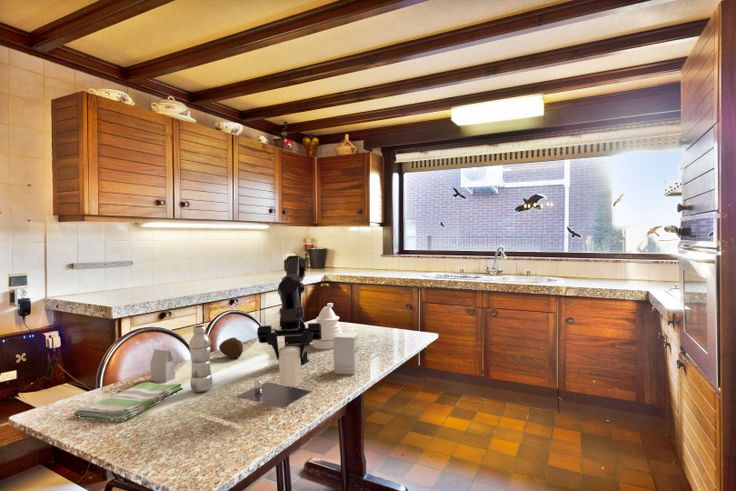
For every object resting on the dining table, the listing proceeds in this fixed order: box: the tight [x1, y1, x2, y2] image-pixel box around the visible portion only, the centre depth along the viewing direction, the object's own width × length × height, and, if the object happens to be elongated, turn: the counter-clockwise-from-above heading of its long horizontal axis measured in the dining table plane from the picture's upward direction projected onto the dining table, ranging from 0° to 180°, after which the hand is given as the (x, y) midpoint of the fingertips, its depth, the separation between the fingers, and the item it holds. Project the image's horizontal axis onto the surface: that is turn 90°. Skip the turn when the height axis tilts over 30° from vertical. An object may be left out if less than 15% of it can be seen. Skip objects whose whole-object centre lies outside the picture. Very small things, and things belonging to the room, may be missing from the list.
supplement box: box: [333, 332, 360, 375], centre depth 142 cm, size 7×7×13 cm
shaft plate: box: [235, 379, 313, 409], centre depth 121 cm, size 18×13×4 cm
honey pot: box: [312, 302, 343, 350], centre depth 176 cm, size 13×13×18 cm
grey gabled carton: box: [149, 348, 176, 383], centre depth 138 cm, size 4×7×10 cm, turn 69°
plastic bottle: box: [188, 324, 214, 393], centre depth 127 cm, size 6×7×20 cm
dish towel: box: [73, 381, 184, 422], centre depth 119 cm, size 17×23×4 cm
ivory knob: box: [278, 346, 302, 386], centre depth 119 cm, size 6×6×10 cm
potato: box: [218, 337, 244, 359], centre depth 162 cm, size 7×10×8 cm
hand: (289, 358), depth 118 cm, fingers closed on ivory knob, 6 cm apart
